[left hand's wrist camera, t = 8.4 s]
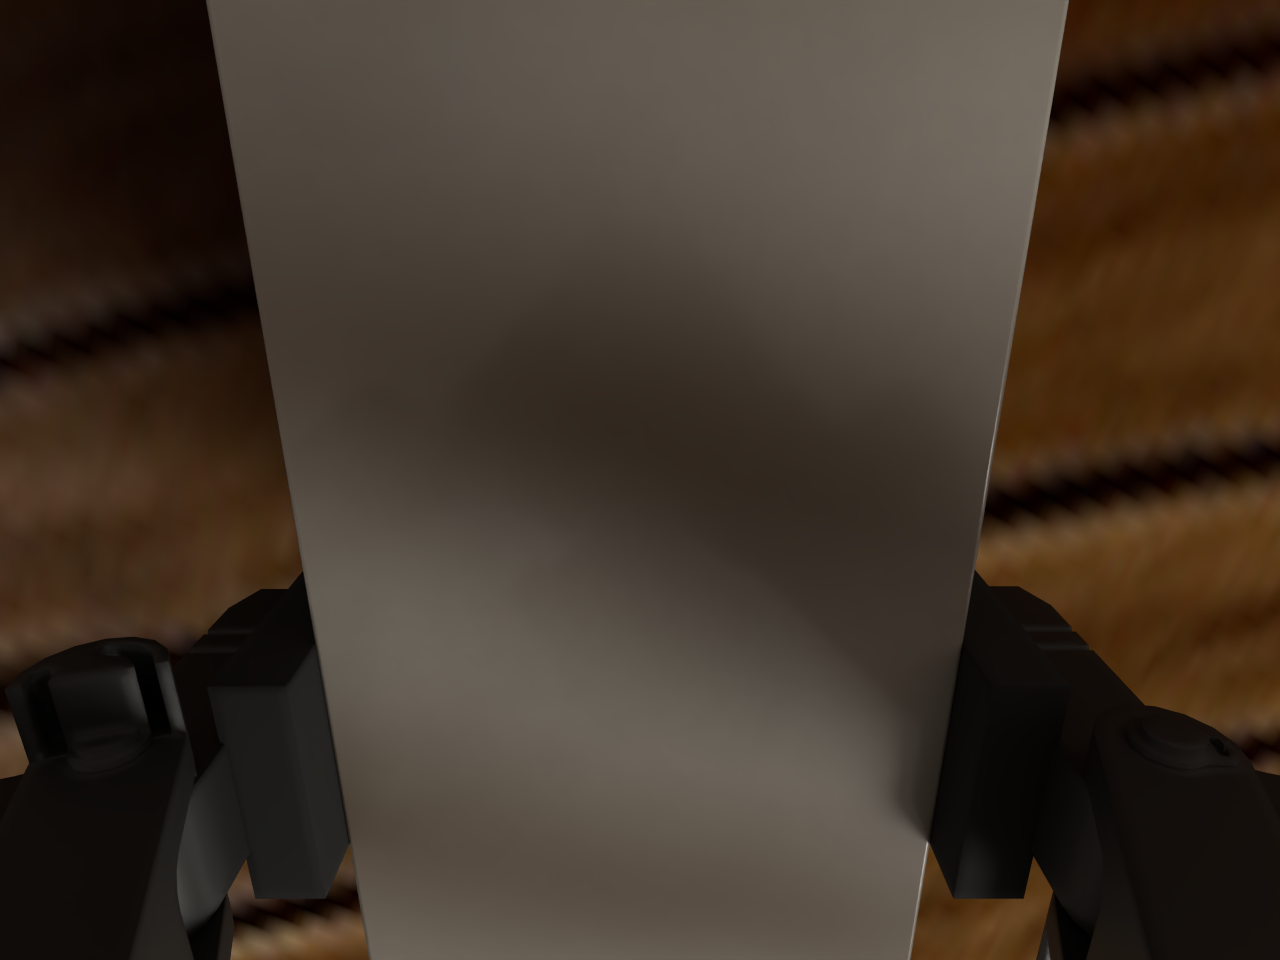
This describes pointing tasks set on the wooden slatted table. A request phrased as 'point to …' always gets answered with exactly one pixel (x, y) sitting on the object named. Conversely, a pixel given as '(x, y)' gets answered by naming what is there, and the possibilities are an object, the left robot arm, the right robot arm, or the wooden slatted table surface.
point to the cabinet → (638, 443)
